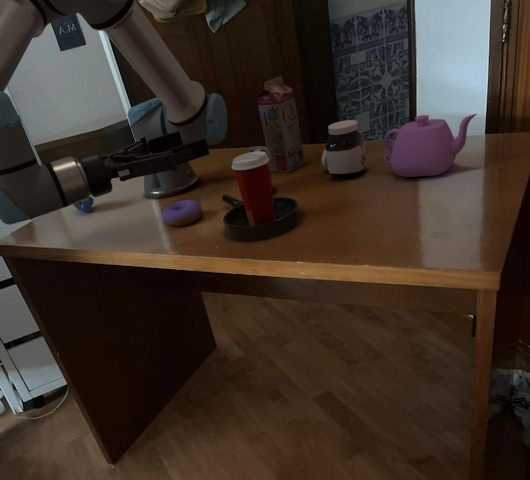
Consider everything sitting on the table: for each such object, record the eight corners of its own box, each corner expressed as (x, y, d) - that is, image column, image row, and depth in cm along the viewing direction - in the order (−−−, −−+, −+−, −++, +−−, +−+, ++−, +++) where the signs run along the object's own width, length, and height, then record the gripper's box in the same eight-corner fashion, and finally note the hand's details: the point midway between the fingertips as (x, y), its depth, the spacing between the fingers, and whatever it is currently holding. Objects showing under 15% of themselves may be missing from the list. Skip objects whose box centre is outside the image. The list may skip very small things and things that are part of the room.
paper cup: (287, 216, 113) (275, 149, 105) (268, 231, 108) (254, 162, 100) (257, 215, 117) (243, 151, 109) (238, 230, 112) (222, 163, 104)
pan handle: (220, 203, 127) (218, 195, 126) (230, 199, 128) (228, 191, 127) (240, 214, 118) (238, 205, 117) (251, 210, 119) (250, 201, 117)
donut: (156, 222, 126) (153, 202, 124) (190, 216, 131) (188, 196, 129) (175, 230, 119) (173, 209, 117) (210, 223, 124) (209, 202, 122)
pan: (215, 228, 117) (211, 215, 115) (277, 204, 121) (275, 191, 119) (246, 248, 104) (243, 233, 102) (314, 220, 109) (312, 206, 107)
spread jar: (354, 181, 123) (349, 129, 117) (311, 182, 129) (304, 132, 123) (373, 164, 131) (369, 114, 125) (332, 165, 137) (326, 118, 131)
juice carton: (304, 163, 143) (291, 74, 131) (289, 172, 140) (273, 81, 128) (286, 163, 148) (271, 76, 135) (271, 171, 144) (254, 83, 132)
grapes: (111, 208, 146) (94, 164, 139) (90, 217, 142) (72, 173, 136) (90, 204, 153) (73, 162, 147) (69, 213, 150) (52, 171, 143)
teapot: (377, 183, 119) (372, 129, 113) (392, 163, 129) (389, 112, 122) (471, 178, 110) (471, 119, 104) (480, 158, 119) (482, 102, 113)
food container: (272, 200, 124) (264, 157, 118) (247, 204, 125) (238, 161, 120) (281, 183, 134) (274, 142, 128) (258, 186, 135) (249, 146, 130)
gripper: (78, 186, 104) (176, 154, 110) (107, 213, 84) (225, 172, 91) (62, 147, 100) (166, 116, 106) (89, 165, 80) (214, 126, 87)
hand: (193, 141), depth 98 cm, fingers open, 13 cm apart
